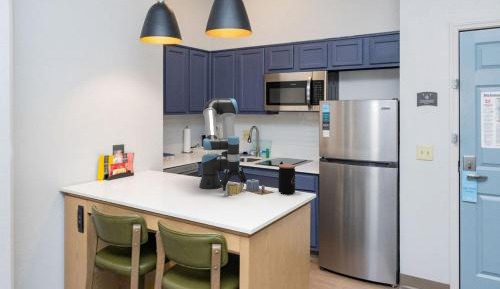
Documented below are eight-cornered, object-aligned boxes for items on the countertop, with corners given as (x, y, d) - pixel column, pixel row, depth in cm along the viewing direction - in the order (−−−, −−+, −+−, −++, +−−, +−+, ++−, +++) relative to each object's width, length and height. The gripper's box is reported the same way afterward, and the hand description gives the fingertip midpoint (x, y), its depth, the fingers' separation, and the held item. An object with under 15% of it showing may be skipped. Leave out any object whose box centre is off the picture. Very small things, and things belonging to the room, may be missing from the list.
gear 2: (243, 190, 240) (243, 181, 239) (250, 187, 247) (250, 178, 246) (254, 191, 235) (254, 182, 235) (261, 189, 242) (261, 180, 242)
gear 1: (224, 194, 233) (224, 184, 232) (234, 192, 238) (234, 183, 238) (232, 196, 226) (232, 187, 226) (243, 194, 232) (243, 185, 231)
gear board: (240, 191, 241) (240, 183, 240) (254, 188, 249) (254, 180, 248) (261, 196, 226) (261, 188, 226) (275, 193, 234) (275, 185, 234)
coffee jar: (294, 195, 230) (294, 167, 228) (277, 194, 232) (277, 166, 230) (295, 191, 240) (295, 164, 238) (279, 190, 242) (279, 164, 241)
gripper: (221, 163, 219) (221, 198, 221) (251, 159, 236) (251, 192, 238) (214, 162, 225) (214, 196, 227) (244, 158, 241) (244, 190, 243)
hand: (233, 194), depth 232 cm, fingers open, 12 cm apart
